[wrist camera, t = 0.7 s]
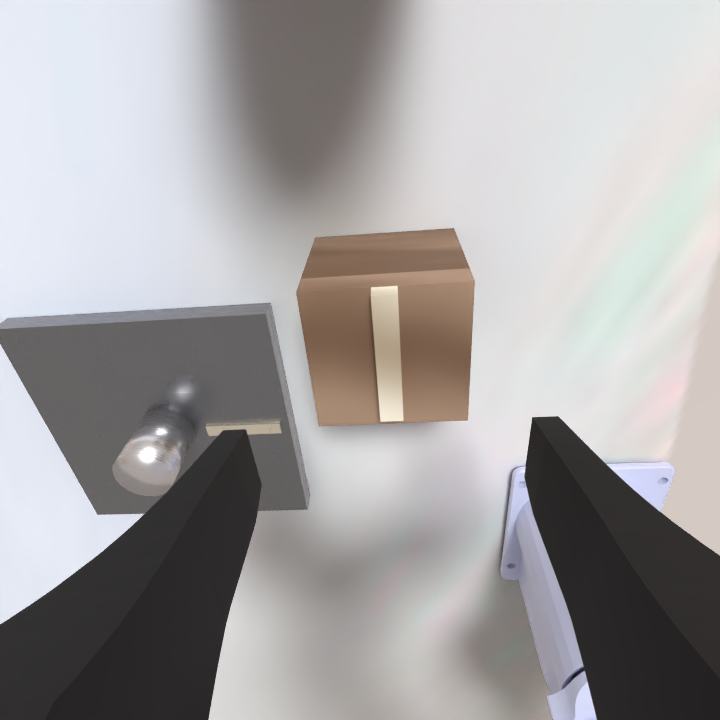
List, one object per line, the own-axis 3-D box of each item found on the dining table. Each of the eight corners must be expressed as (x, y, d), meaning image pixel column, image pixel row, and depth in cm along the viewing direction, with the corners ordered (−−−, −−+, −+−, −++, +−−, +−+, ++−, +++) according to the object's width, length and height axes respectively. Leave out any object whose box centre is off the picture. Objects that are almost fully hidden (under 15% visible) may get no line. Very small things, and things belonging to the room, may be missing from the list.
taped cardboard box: (450, 347, 21) (470, 431, 17) (331, 353, 22) (317, 437, 17) (453, 228, 19) (478, 289, 14) (315, 237, 19) (293, 300, 14)
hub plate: (309, 495, 27) (299, 558, 24) (106, 500, 28) (68, 562, 25) (270, 303, 21) (248, 352, 17) (7, 318, 22) (-62, 368, 18)
